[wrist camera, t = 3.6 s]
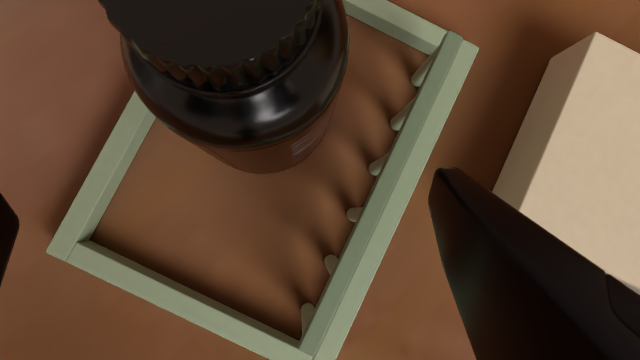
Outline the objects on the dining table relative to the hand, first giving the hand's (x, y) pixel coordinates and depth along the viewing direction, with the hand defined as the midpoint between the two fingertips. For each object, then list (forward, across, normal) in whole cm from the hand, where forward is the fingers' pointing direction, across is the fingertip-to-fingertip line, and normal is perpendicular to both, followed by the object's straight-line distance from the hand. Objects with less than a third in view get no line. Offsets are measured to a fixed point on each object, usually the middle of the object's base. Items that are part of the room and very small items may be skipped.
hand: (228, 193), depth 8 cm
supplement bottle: (+12, 0, +5) cm, 12 cm away
